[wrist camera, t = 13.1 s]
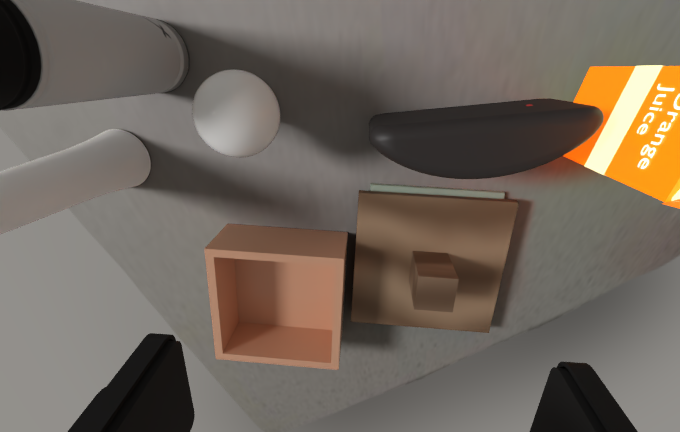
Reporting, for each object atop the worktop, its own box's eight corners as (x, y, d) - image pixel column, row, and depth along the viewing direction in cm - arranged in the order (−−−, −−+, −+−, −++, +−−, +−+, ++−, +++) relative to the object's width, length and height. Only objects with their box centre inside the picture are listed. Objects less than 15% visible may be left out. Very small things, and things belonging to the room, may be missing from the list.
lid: (359, 188, 37) (357, 211, 31) (513, 197, 36) (541, 223, 30) (351, 313, 43) (348, 353, 37) (485, 324, 42) (504, 367, 36)
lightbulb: (308, 124, 36) (284, 146, 25) (251, 148, 37) (205, 179, 27) (279, 57, 34) (240, 52, 23) (219, 86, 35) (157, 93, 25)
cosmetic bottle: (110, 192, 40) (-163, 322, 19) (83, 136, 38) (-254, 216, 17) (161, 179, 39) (-71, 303, 18) (136, 122, 37) (-156, 189, 16)
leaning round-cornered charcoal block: (372, 160, 36) (372, 190, 28) (368, 112, 35) (368, 127, 26) (546, 146, 35) (605, 173, 26) (551, 95, 33) (616, 105, 24)
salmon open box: (227, 223, 40) (204, 248, 35) (347, 232, 39) (344, 258, 34) (234, 322, 45) (215, 358, 39) (342, 332, 44) (338, 369, 39)
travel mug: (180, 11, 33) (-66, -64, 14) (196, 90, 35) (3, 113, 17) (114, 17, 33) (-206, -48, 15) (133, 94, 36) (-121, 122, 17)
